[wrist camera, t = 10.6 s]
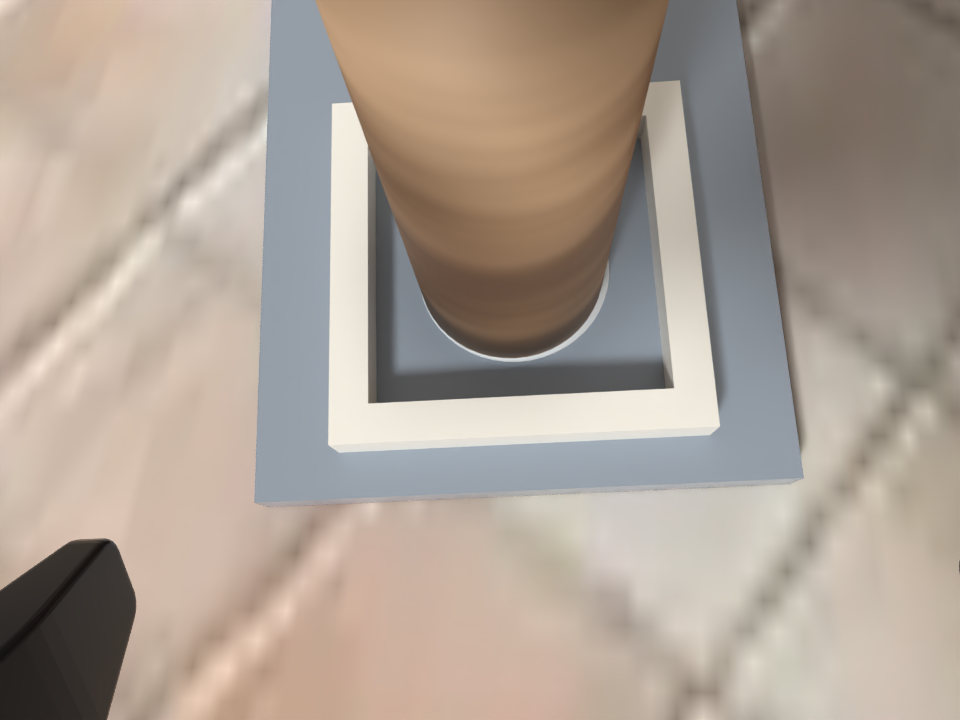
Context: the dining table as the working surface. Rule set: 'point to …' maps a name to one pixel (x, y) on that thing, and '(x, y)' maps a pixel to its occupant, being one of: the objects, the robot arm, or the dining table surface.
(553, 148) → the walnut column
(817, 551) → the dining table surface
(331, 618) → the dining table surface
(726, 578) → the dining table surface
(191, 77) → the dining table surface
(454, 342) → the baseplate
